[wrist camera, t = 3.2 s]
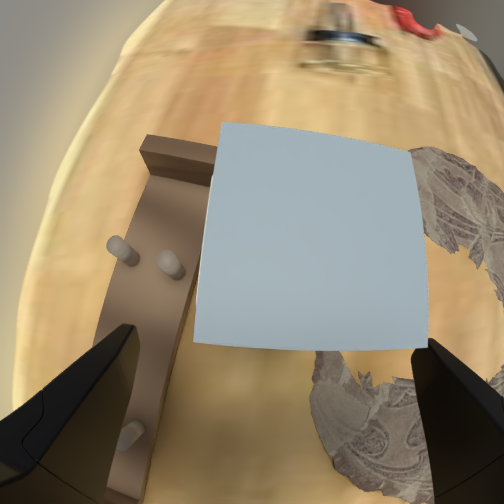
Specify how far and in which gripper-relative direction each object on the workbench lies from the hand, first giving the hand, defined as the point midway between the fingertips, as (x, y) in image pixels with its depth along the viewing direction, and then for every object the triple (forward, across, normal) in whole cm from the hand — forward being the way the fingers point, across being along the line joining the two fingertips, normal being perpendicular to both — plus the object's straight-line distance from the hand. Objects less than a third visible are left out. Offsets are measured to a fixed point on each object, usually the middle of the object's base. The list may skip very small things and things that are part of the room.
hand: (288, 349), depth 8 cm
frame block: (+9, 0, +5) cm, 10 cm away
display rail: (+6, +8, +8) cm, 13 cm away
